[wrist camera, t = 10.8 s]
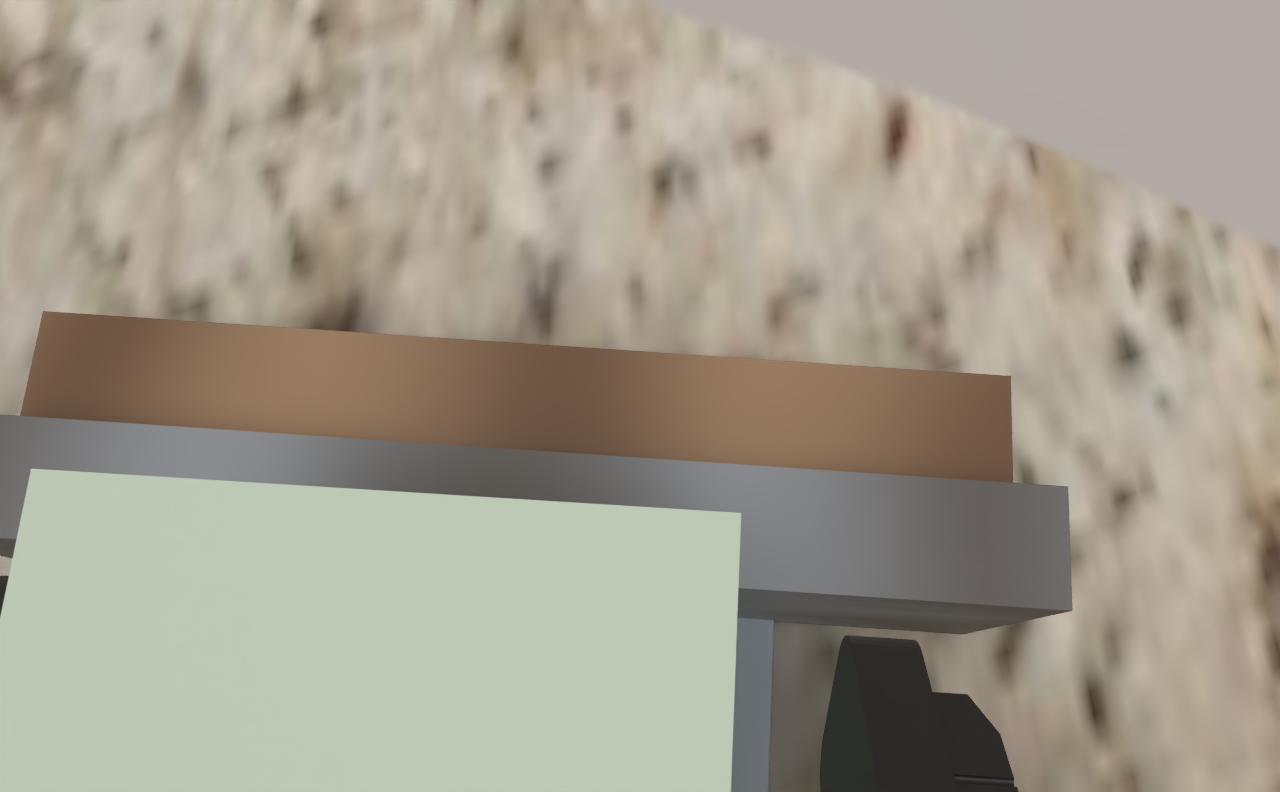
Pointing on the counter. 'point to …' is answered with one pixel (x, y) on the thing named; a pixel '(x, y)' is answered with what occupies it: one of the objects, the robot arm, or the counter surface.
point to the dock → (589, 458)
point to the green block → (362, 641)
